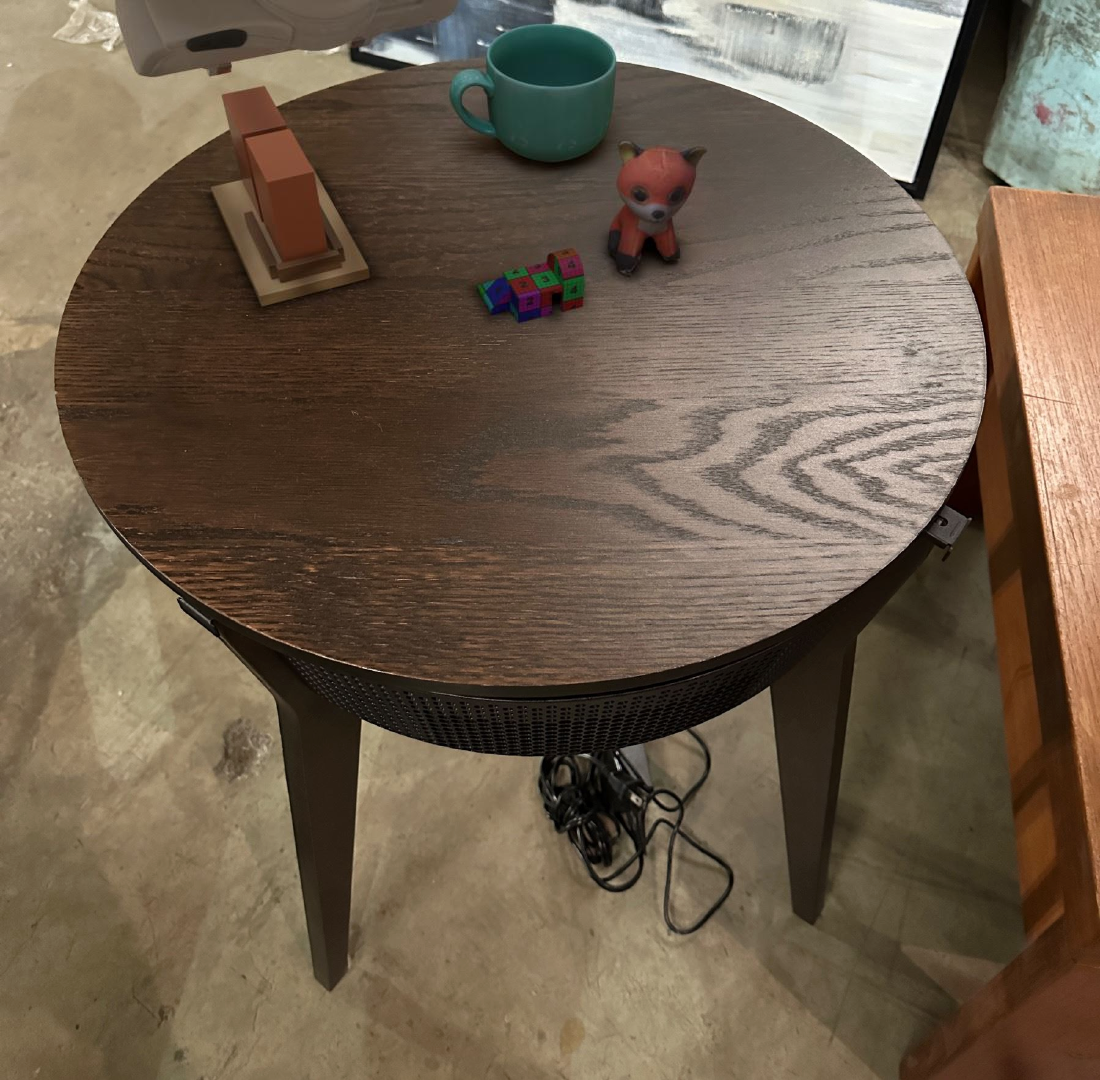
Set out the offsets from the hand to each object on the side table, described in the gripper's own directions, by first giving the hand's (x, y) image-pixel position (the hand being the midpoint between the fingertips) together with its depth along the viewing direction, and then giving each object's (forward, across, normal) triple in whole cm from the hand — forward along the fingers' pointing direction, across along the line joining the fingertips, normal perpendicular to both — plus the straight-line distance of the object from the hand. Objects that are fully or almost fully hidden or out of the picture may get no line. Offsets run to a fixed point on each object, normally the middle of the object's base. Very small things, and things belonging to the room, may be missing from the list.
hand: (286, 48), depth 68 cm
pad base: (+29, 0, +7) cm, 29 cm away
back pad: (+26, 0, +8) cm, 27 cm away
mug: (+32, -27, +4) cm, 42 cm away
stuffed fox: (+18, -30, +17) cm, 40 cm away
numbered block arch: (+17, -17, +19) cm, 31 cm away
